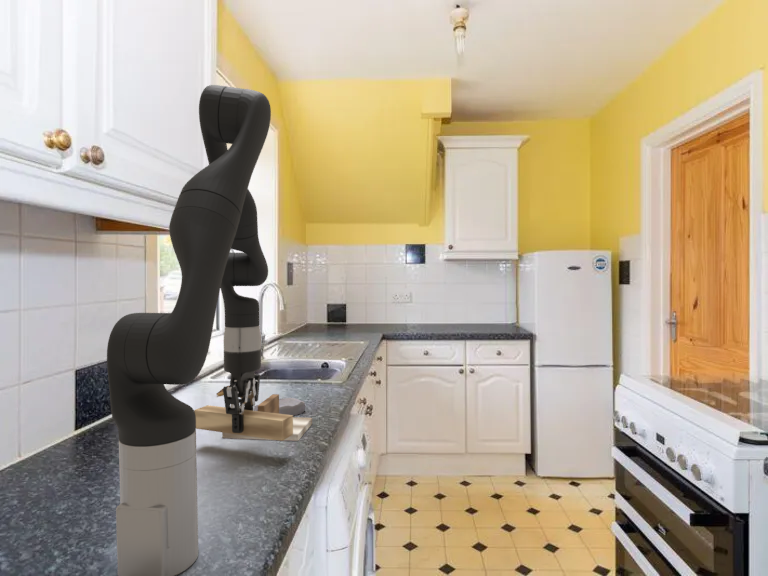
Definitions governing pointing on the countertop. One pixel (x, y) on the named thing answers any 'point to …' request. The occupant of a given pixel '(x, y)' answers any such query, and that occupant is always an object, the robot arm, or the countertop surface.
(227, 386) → the shard
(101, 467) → the countertop surface
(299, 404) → the stone block
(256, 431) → the oak batten
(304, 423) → the stand
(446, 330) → the countertop surface
